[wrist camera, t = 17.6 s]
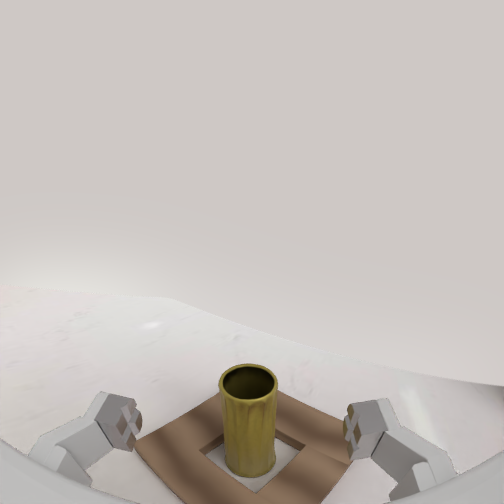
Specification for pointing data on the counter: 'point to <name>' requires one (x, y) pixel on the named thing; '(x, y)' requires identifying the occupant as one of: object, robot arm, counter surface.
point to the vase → (249, 418)
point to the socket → (226, 487)
